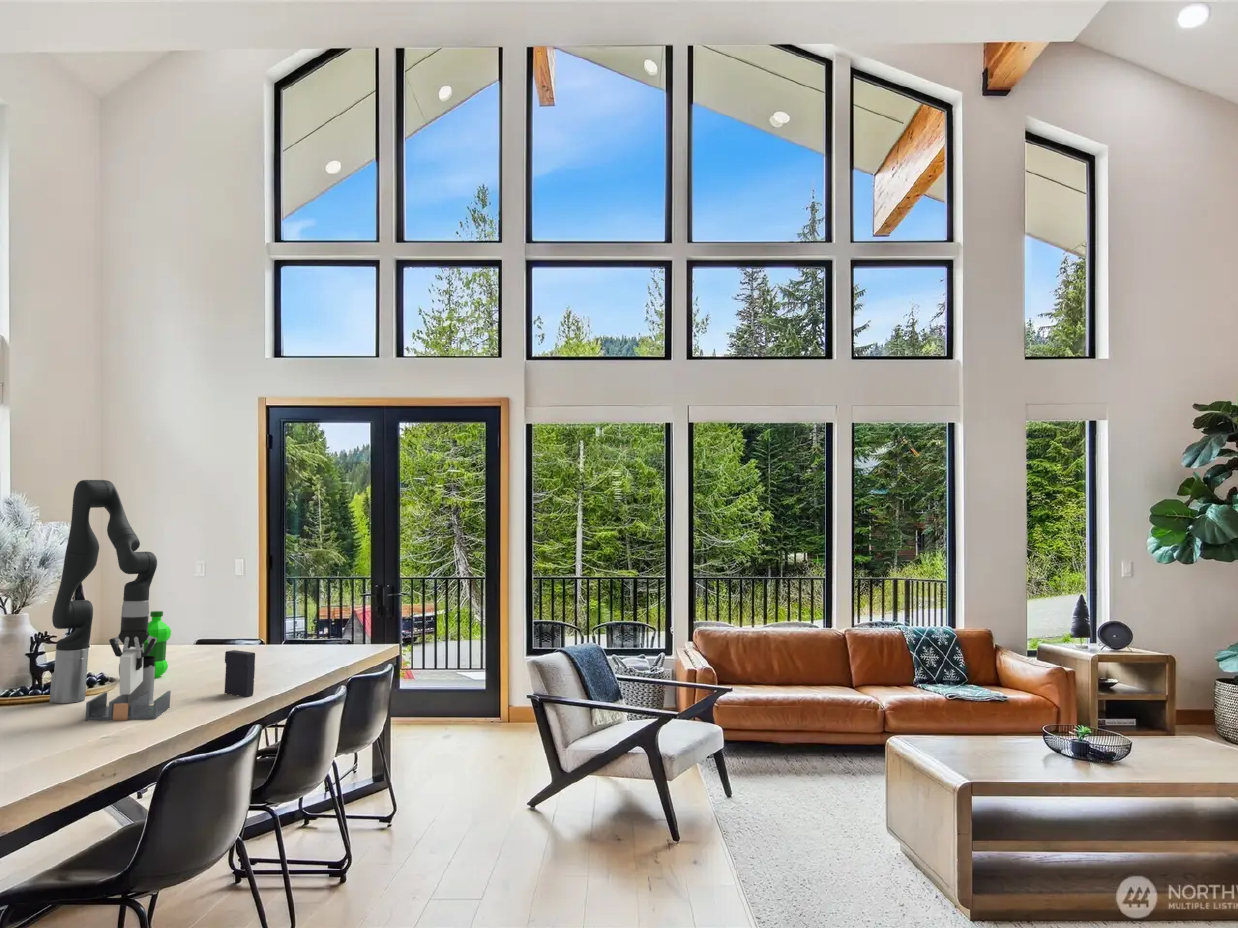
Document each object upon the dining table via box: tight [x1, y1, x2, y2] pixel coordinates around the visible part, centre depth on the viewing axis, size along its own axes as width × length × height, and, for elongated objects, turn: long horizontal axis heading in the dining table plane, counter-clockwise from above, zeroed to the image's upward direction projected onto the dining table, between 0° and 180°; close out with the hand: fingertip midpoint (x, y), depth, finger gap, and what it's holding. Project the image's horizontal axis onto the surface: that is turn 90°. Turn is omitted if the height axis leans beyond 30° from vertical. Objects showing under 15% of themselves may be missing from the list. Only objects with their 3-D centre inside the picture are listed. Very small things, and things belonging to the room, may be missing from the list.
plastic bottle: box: [143, 610, 172, 679], centre depth 322 cm, size 10×10×25 cm
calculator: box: [224, 649, 256, 698], centre depth 294 cm, size 11×4×15 cm, turn 65°
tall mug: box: [118, 656, 155, 706], centre depth 278 cm, size 9×14×15 cm, turn 71°
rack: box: [84, 690, 172, 722], centre depth 262 cm, size 19×16×6 cm
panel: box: [119, 647, 143, 696], centre depth 263 cm, size 3×12×12 cm, turn 14°
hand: (131, 669), depth 263 cm, fingers closed on panel, 3 cm apart
